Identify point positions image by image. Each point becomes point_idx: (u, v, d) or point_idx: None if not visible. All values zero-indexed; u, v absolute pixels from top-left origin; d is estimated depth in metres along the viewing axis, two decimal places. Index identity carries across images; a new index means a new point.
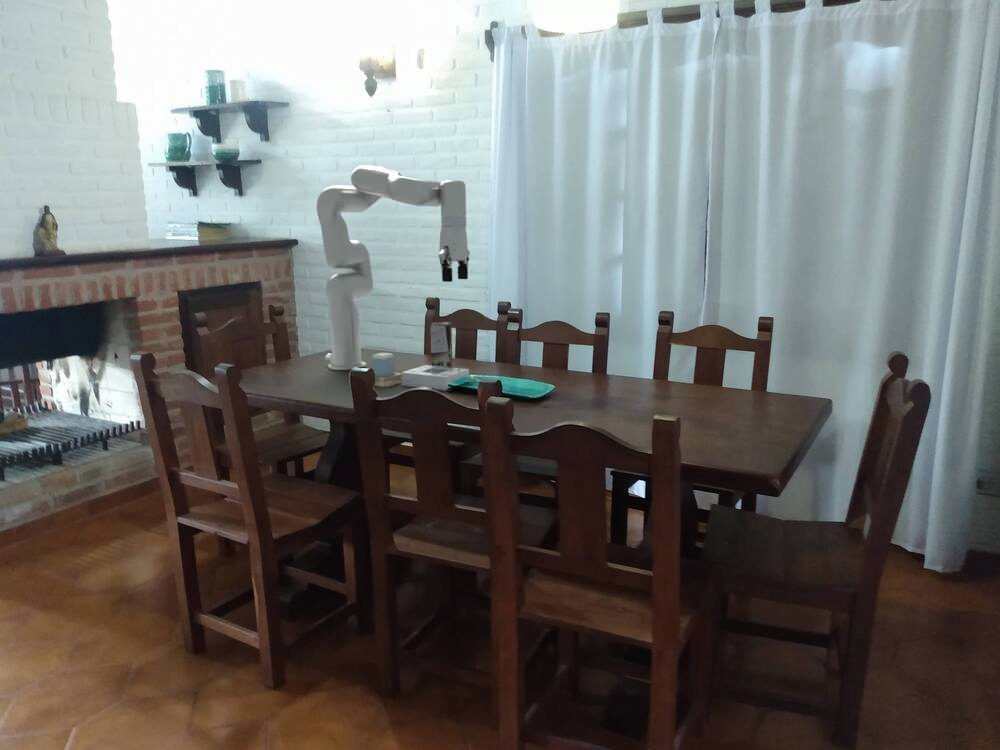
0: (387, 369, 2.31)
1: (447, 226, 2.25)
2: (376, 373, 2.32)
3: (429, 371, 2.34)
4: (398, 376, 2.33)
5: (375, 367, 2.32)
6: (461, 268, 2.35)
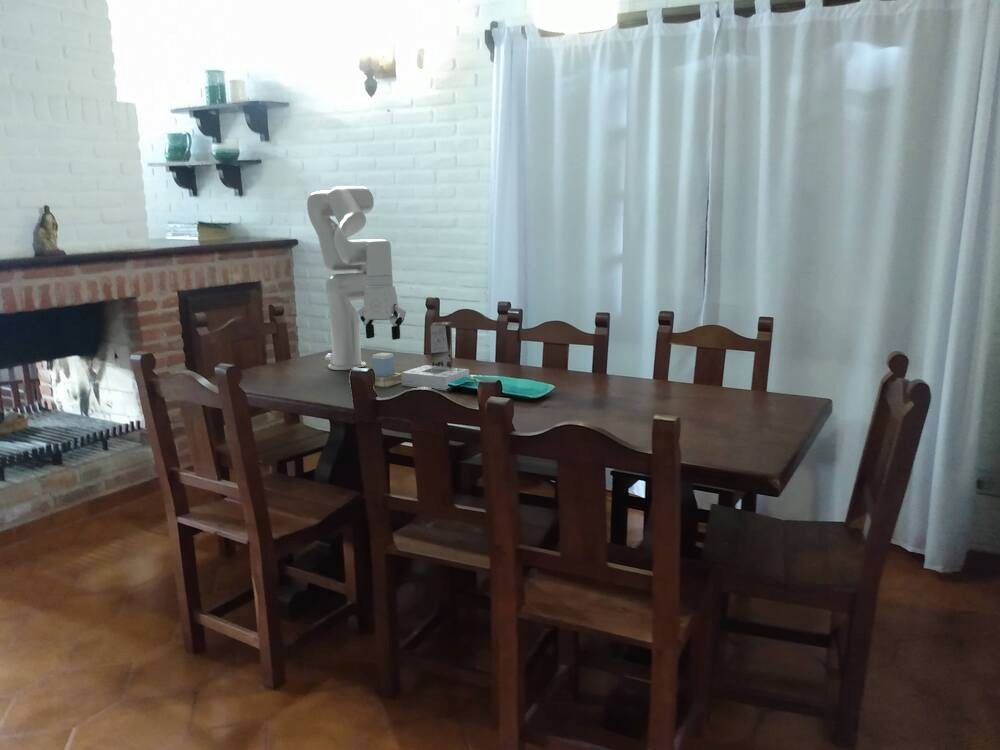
0: (387, 369, 2.31)
1: (389, 284, 2.26)
2: (376, 373, 2.32)
3: (429, 371, 2.34)
4: (398, 376, 2.33)
5: (375, 367, 2.32)
6: (370, 327, 2.32)
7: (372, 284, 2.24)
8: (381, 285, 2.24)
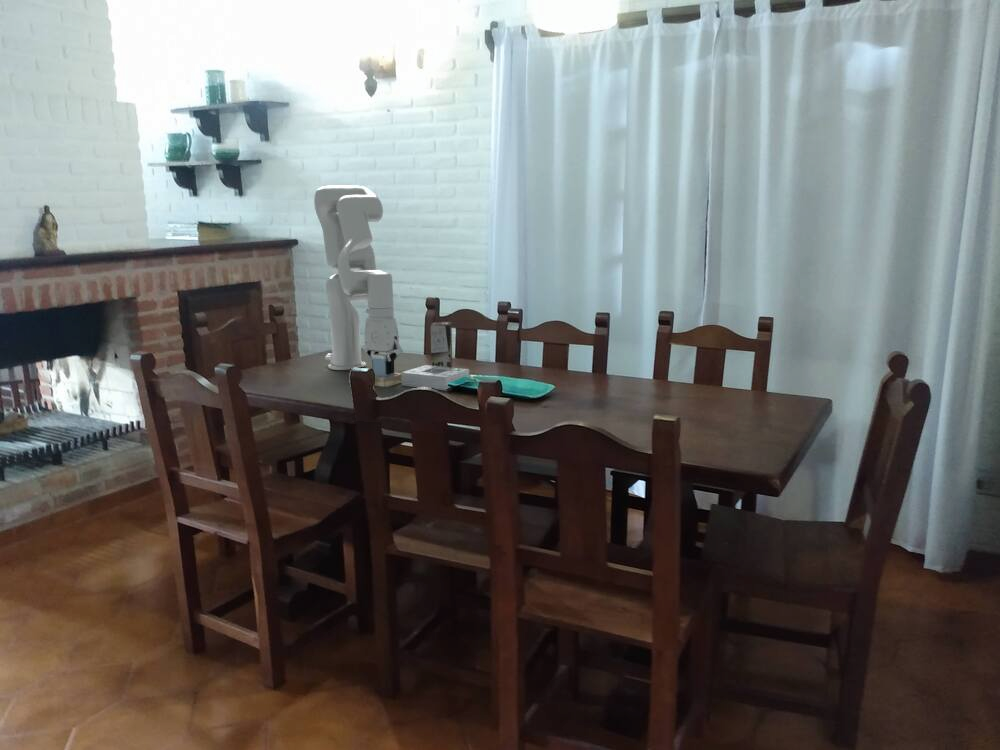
0: None
1: (390, 317, 2.28)
2: (376, 373, 2.32)
3: (429, 371, 2.34)
4: (398, 376, 2.33)
5: (375, 367, 2.32)
6: None
7: (373, 316, 2.27)
8: (382, 318, 2.26)
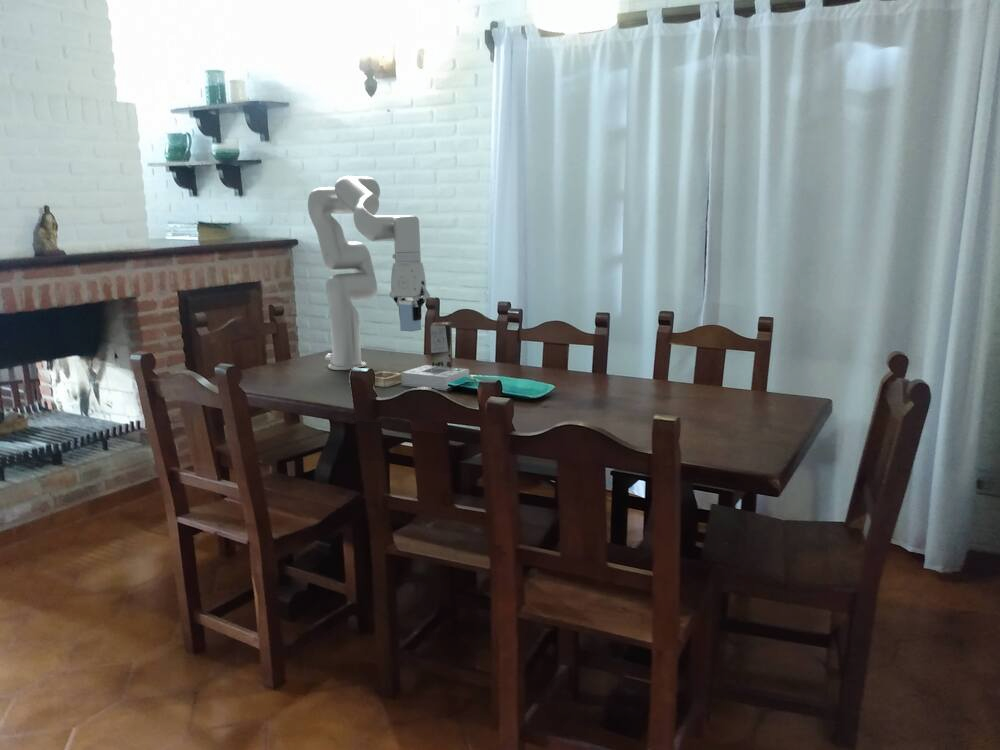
0: None
1: (418, 261, 2.23)
2: (403, 320, 2.27)
3: (429, 371, 2.34)
4: (398, 376, 2.33)
5: (402, 313, 2.27)
6: None
7: (400, 260, 2.22)
8: (409, 262, 2.22)
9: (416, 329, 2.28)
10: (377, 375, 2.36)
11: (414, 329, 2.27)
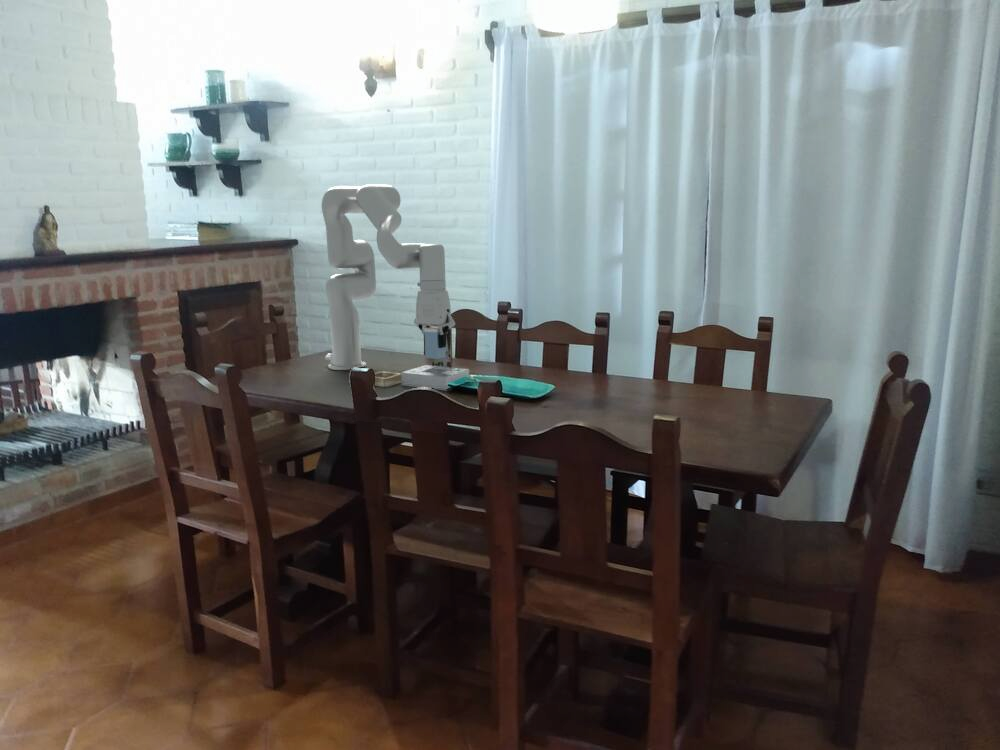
0: None
1: (443, 289, 2.24)
2: (428, 347, 2.28)
3: (429, 371, 2.34)
4: (398, 376, 2.33)
5: (427, 340, 2.28)
6: None
7: (426, 289, 2.23)
8: (435, 290, 2.23)
9: (441, 356, 2.29)
10: (377, 375, 2.36)
11: (439, 356, 2.28)
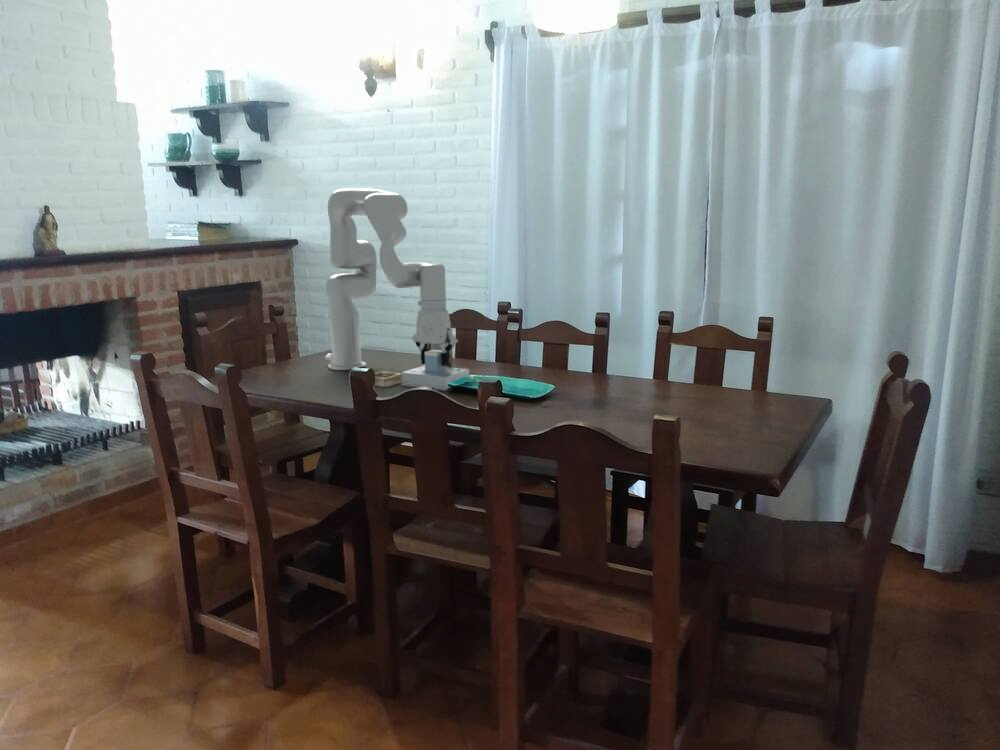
0: (439, 366, 2.29)
1: (443, 309, 2.26)
2: (428, 370, 2.30)
3: None
4: (398, 376, 2.33)
5: (427, 364, 2.29)
6: None
7: (426, 308, 2.24)
8: (435, 309, 2.24)
9: None
10: (377, 375, 2.36)
11: None
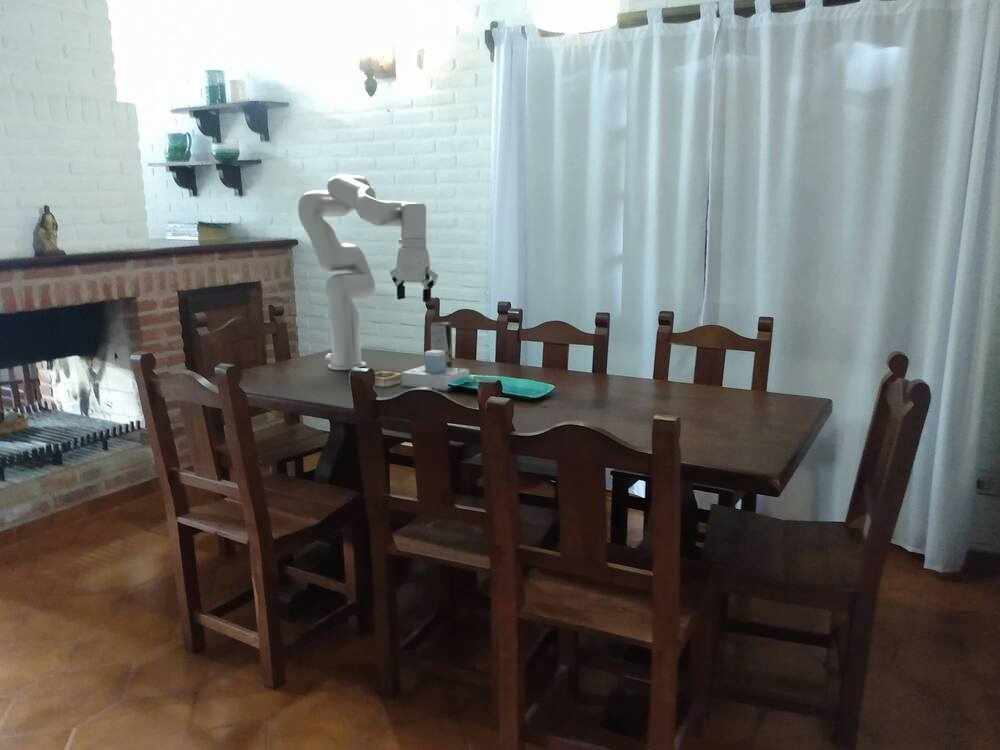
0: (439, 366, 2.29)
1: (423, 247, 2.29)
2: (428, 370, 2.30)
3: None
4: (398, 376, 2.33)
5: (427, 364, 2.29)
6: (401, 288, 2.36)
7: (406, 246, 2.28)
8: (415, 248, 2.28)
9: None
10: (377, 375, 2.36)
11: None
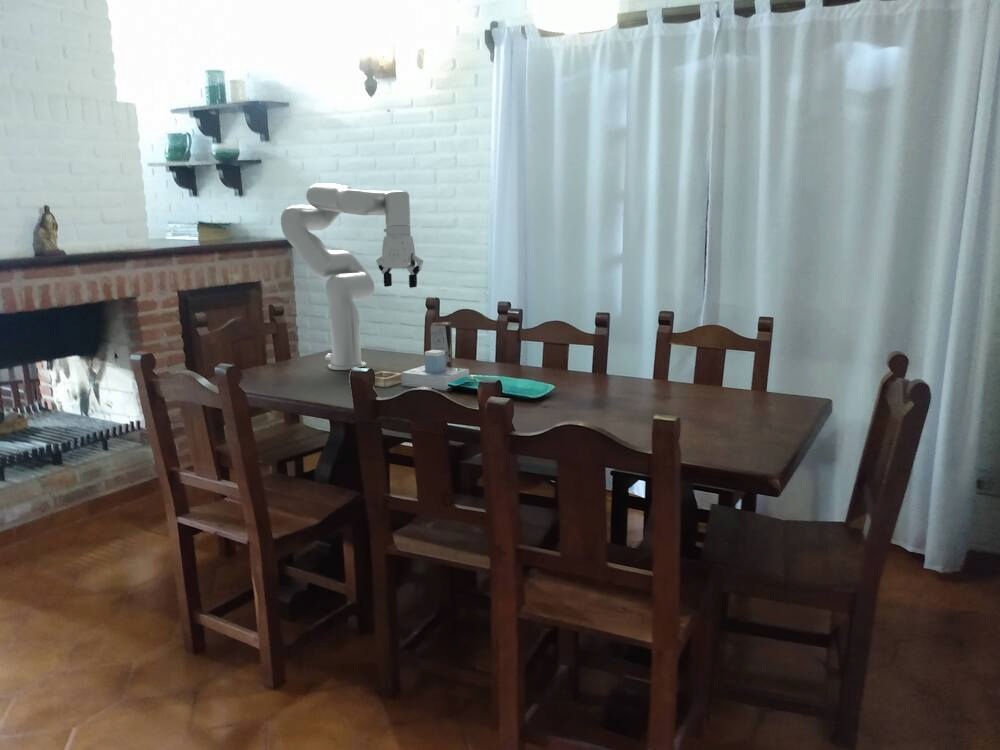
0: (439, 366, 2.29)
1: (408, 234, 2.35)
2: (428, 370, 2.30)
3: None
4: (398, 376, 2.33)
5: (427, 364, 2.29)
6: (388, 275, 2.42)
7: (391, 233, 2.34)
8: (400, 234, 2.34)
9: None
10: (377, 375, 2.36)
11: None
